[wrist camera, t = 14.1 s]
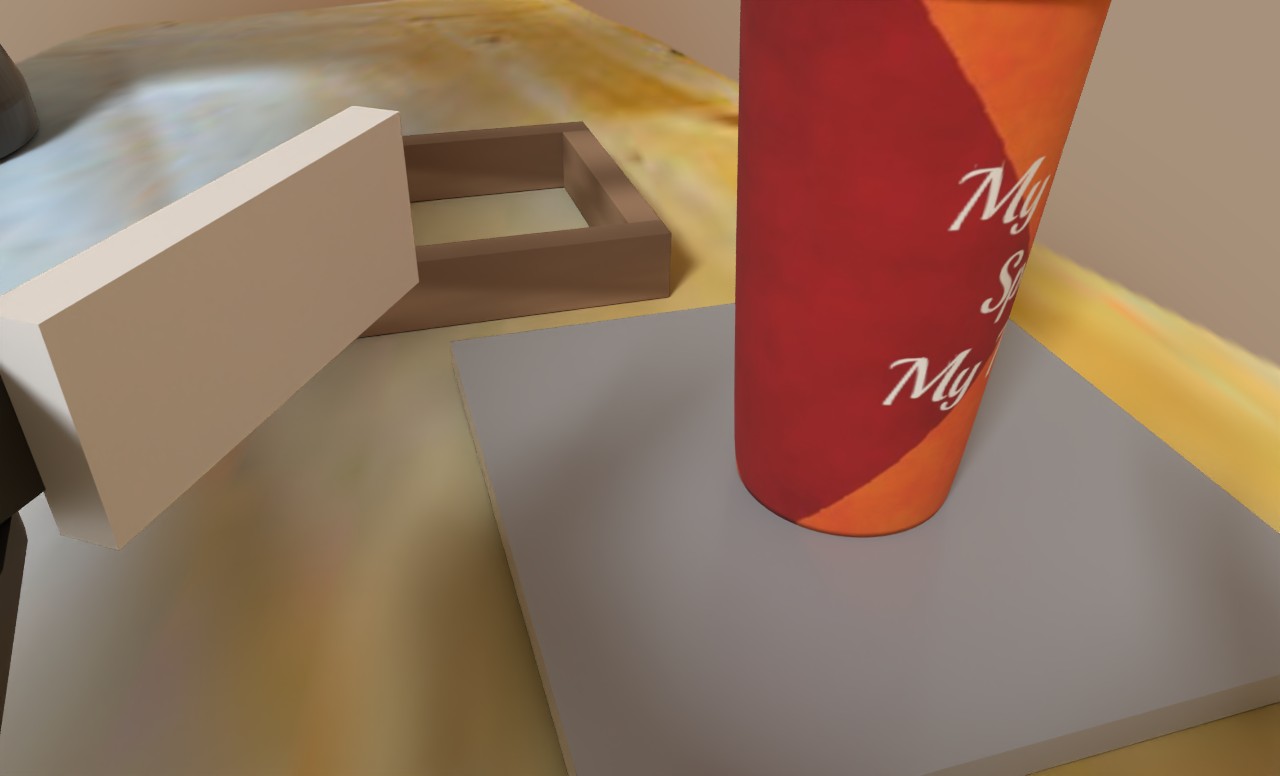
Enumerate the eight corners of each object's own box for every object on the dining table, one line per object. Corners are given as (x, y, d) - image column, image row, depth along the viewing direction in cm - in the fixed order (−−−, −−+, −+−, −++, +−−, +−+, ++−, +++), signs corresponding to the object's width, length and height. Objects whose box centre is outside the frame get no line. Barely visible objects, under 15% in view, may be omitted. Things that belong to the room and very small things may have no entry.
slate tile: (452, 368, 32) (450, 341, 31) (947, 298, 36) (953, 273, 36) (603, 898, 17) (603, 864, 17) (1390, 669, 22) (1409, 637, 21)
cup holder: (303, 201, 43) (293, 145, 41) (583, 174, 46) (582, 121, 44) (312, 343, 33) (300, 275, 31) (668, 296, 36) (671, 232, 35)
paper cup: (991, 601, 22) (1197, -93, 14) (659, 530, 24) (684, -122, 16) (993, 412, 28) (1137, -142, 21) (730, 366, 30) (773, -159, 22)
